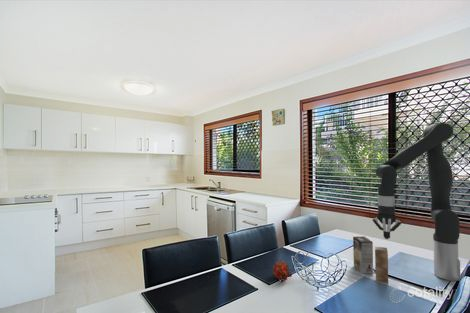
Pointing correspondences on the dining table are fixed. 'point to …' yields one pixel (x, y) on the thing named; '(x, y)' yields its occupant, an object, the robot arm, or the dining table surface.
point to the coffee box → (363, 254)
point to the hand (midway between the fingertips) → (386, 238)
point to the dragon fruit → (281, 270)
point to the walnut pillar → (381, 264)
